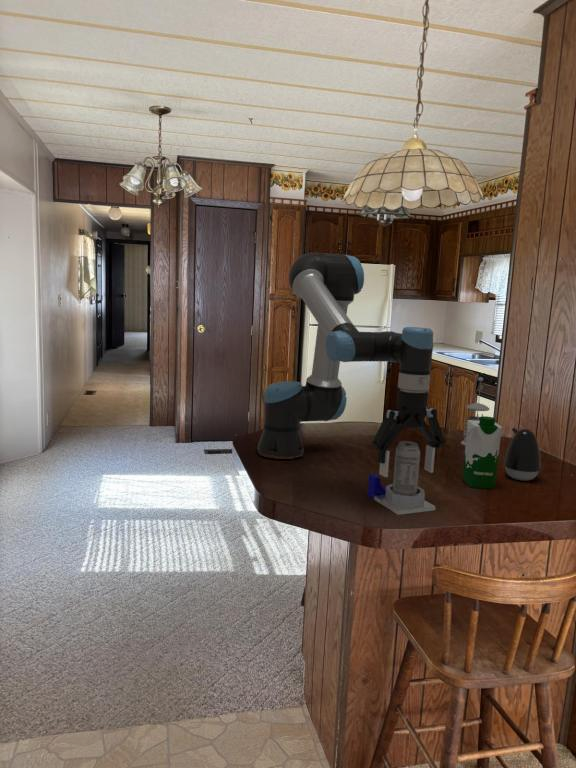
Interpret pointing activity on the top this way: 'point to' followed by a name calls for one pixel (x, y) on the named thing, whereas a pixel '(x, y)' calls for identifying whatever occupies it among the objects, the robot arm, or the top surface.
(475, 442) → the milk carton
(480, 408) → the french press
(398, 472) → the energy drink can
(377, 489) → the blue u-shaped piece
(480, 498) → the top surface
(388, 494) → the plate
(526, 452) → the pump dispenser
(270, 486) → the top surface
